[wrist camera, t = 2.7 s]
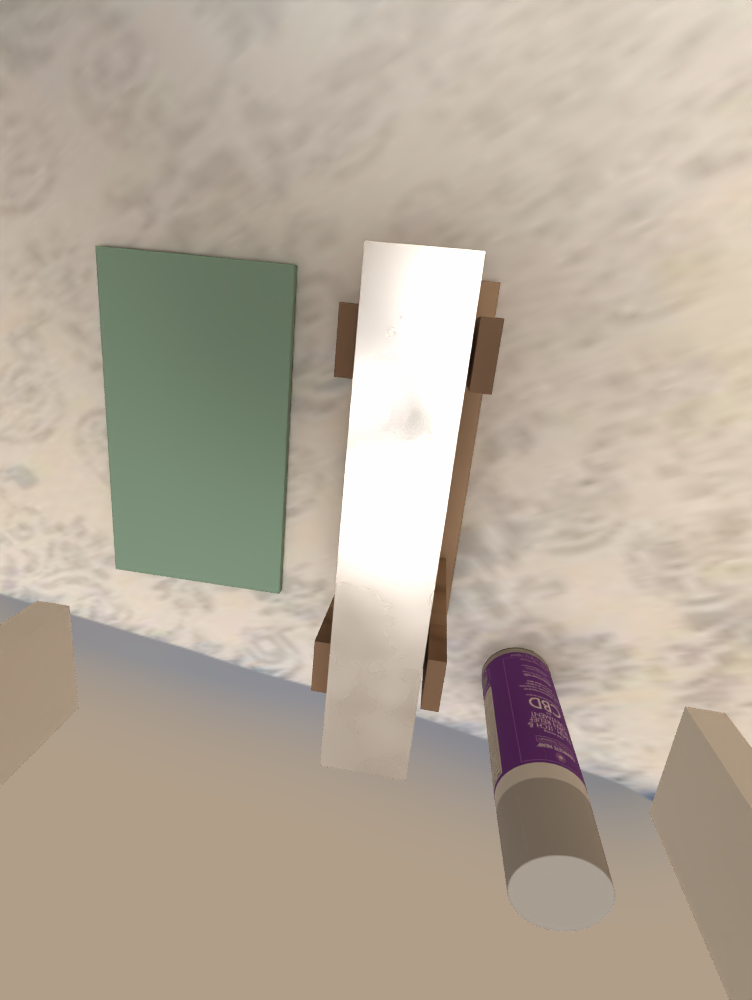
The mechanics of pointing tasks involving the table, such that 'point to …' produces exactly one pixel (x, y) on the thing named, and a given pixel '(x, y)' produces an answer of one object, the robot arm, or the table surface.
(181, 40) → the table surface
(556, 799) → the container
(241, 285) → the mat
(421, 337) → the rail
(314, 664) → the rack
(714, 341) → the table surface
